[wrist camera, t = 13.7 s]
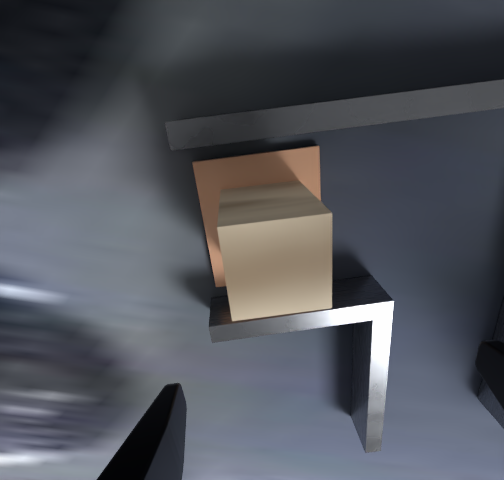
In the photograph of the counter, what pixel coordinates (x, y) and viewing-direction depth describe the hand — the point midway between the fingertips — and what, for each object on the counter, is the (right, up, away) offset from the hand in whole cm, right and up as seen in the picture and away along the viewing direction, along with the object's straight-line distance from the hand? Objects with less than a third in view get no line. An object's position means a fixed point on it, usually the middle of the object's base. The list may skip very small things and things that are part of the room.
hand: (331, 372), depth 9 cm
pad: (-2, +5, +9) cm, 11 cm away
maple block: (-2, +5, +9) cm, 11 cm away
